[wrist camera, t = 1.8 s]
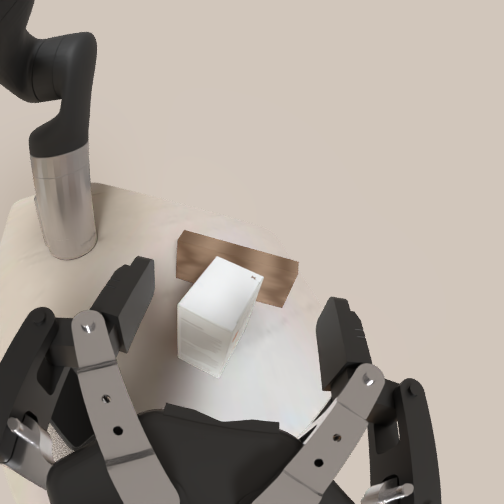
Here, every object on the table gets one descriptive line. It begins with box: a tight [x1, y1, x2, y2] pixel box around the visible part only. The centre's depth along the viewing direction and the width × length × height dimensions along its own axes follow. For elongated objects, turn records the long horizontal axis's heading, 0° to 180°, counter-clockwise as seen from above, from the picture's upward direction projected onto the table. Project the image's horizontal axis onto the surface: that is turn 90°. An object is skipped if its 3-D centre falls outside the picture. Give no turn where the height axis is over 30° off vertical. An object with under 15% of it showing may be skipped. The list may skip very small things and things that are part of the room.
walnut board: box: [176, 230, 299, 308], centre depth 38 cm, size 16×2×7 cm, turn 80°
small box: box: [177, 256, 264, 378], centre depth 28 cm, size 8×6×10 cm
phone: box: [50, 367, 96, 451], centre depth 21 cm, size 8×1×15 cm
